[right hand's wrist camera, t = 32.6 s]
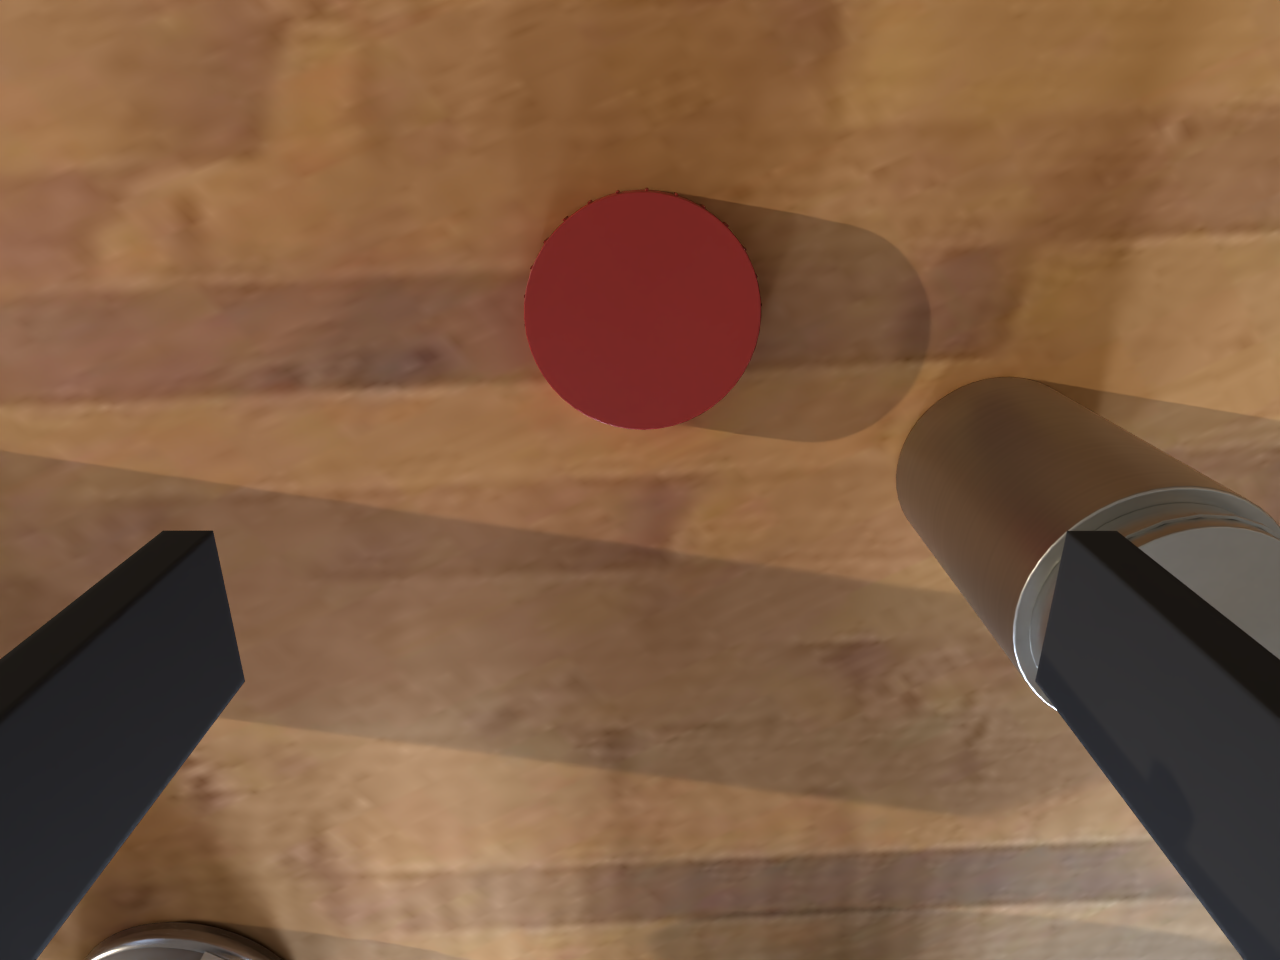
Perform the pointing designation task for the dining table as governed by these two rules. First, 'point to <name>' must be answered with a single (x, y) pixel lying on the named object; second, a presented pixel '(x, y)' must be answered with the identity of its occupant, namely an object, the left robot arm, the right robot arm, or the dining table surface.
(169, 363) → the dining table surface
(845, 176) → the dining table surface
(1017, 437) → the jar
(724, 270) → the lid
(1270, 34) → the dining table surface
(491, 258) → the dining table surface
